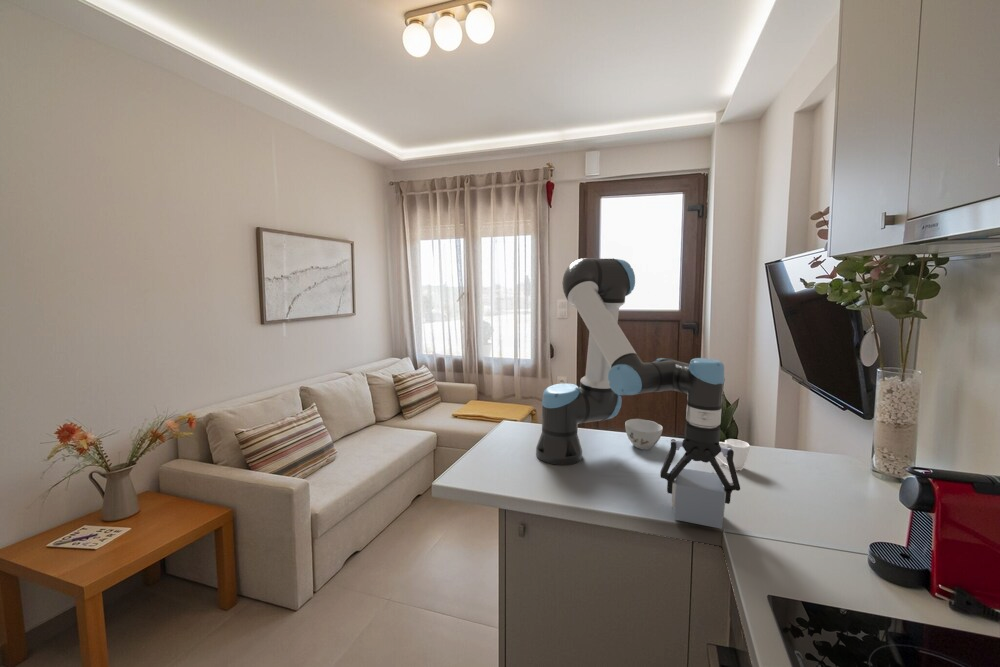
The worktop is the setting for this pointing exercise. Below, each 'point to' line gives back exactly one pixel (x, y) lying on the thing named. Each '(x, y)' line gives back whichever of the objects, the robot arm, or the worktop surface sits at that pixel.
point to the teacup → (643, 432)
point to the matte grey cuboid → (699, 498)
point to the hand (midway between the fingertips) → (696, 509)
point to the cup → (737, 452)
